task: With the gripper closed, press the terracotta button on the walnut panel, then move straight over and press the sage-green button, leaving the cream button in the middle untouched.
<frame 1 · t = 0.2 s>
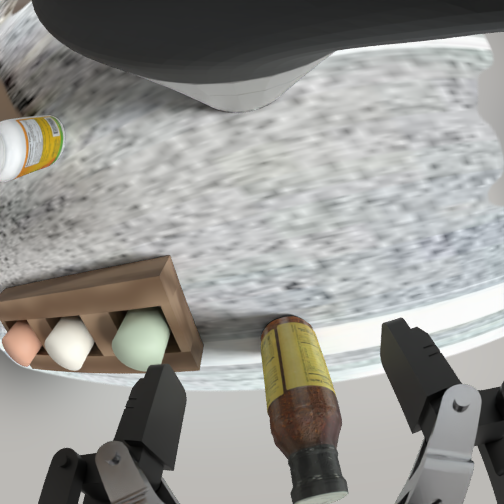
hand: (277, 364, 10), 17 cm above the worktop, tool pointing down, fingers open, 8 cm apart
panel: (86, 317, 31), on the worktop
button sage: (142, 337, 26), point 5 cm above the worktop, slide at 0.0 cm
button terracotta: (23, 341, 27), point 5 cm above the worktop, slide at 0.0 cm
supplement bottle: (48, 140, 22), on the worktop
sauce bottle: (288, 332, 32), on the worktop
button cream: (71, 340, 26), point 5 cm above the worktop, slide at 0.0 cm
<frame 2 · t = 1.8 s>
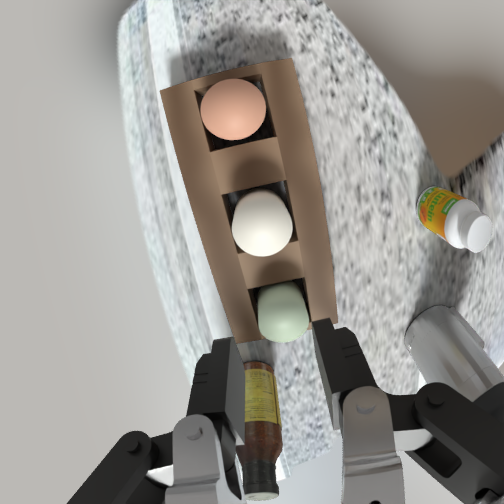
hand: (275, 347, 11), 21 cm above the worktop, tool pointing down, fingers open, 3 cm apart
panel: (259, 207, 30), on the worktop
button sage: (281, 309, 30), point 5 cm above the worktop, slide at 0.0 cm
button terracotta: (234, 111, 22), point 5 cm above the worktop, slide at 0.0 cm
supplement bottle: (431, 206, 30), on the worktop
sauce bottle: (255, 372, 40), on the worktop
button cream: (261, 220, 26), point 5 cm above the worktop, slide at 0.0 cm
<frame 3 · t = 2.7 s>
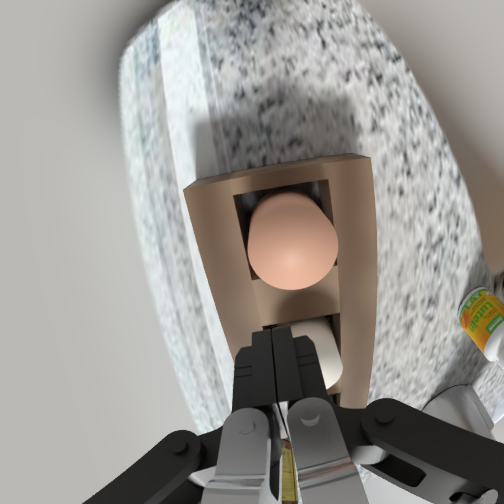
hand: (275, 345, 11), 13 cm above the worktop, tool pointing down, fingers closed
panel: (299, 319, 26), on the worktop
button sage: (312, 418, 25), point 5 cm above the worktop, slide at 0.0 cm
button terracotta: (289, 235, 18), point 5 cm above the worktop, slide at 0.0 cm
supplement bottle: (472, 304, 25), on the worktop
sauce bottle: (273, 444, 36), on the worktop
button cream: (305, 353, 22), point 5 cm above the worktop, slide at 0.0 cm
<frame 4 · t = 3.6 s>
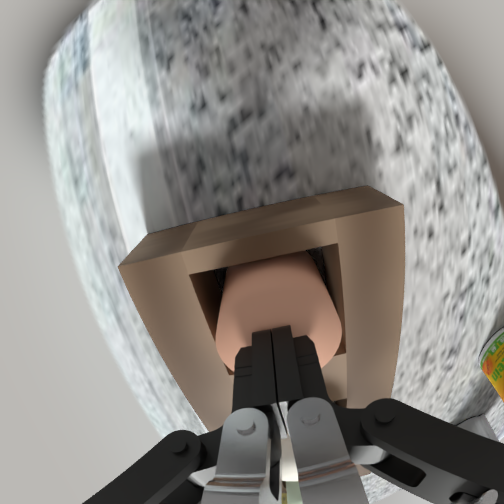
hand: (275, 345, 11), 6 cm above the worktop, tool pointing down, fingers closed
panel: (296, 388, 20), on the worktop
button sage: (312, 481, 19), point 5 cm above the worktop, slide at 0.0 cm
button terracotta: (275, 308, 13), point 3 cm above the worktop, slide at 1.5 cm
supplement bottle: (494, 344, 20), on the worktop
button cream: (303, 438, 15), point 5 cm above the worktop, slide at 0.0 cm
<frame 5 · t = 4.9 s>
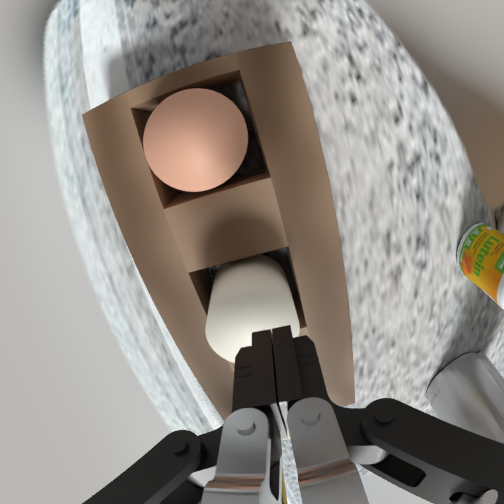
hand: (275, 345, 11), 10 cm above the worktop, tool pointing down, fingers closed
panel: (249, 272, 21), on the worktop
button sage: (284, 401, 21), point 5 cm above the worktop, slide at 0.0 cm
button terracotta: (201, 138, 15), point 3 cm above the worktop, slide at 1.6 cm
supplement bottle: (472, 247, 21), on the worktop
button cream: (251, 307, 17), point 5 cm above the worktop, slide at 0.0 cm
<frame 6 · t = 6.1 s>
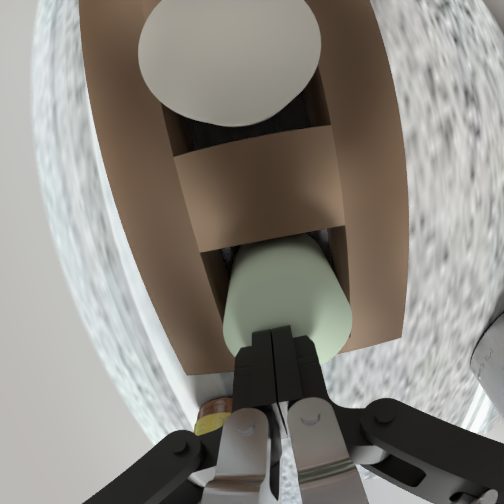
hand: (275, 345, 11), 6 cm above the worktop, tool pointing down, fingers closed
panel: (240, 81, 12), on the worktop
button sage: (283, 298, 13), point 4 cm above the worktop, slide at 0.8 cm, touching gripper
sauce bottle: (234, 412, 22), on the worktop
button cream: (233, 59, 8), point 5 cm above the worktop, slide at 0.0 cm
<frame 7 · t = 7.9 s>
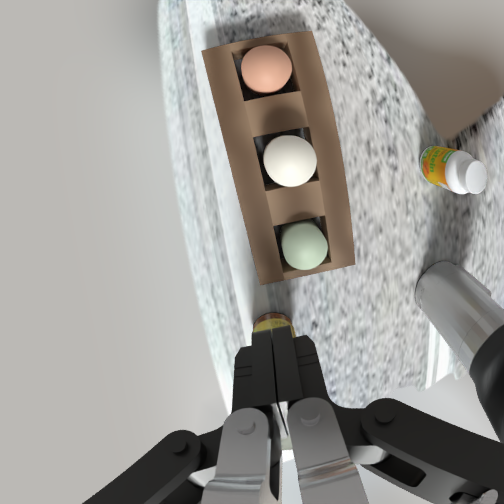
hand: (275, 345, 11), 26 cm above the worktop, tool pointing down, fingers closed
panel: (283, 156, 33), on the worktop
button sage: (302, 241, 34), point 3 cm above the worktop, slide at 1.6 cm
button terracotta: (265, 71, 26), point 3 cm above the worktop, slide at 1.6 cm
supplement bottle: (432, 164, 32), on the worktop
sauce bottle: (273, 326, 43), on the worktop
button cream: (287, 159, 28), point 5 cm above the worktop, slide at 0.0 cm
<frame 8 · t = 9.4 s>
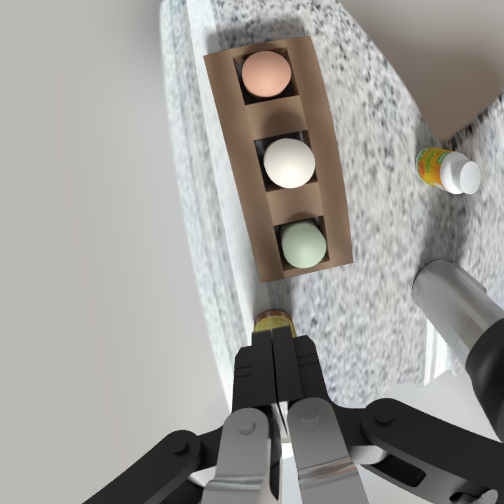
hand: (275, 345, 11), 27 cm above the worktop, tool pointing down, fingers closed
panel: (282, 158, 34), on the worktop
button sage: (301, 241, 35), point 3 cm above the worktop, slide at 1.6 cm
button terracotta: (265, 76, 27), point 3 cm above the worktop, slide at 1.6 cm
supplement bottle: (428, 164, 34), on the worktop
sauce bottle: (273, 324, 44), on the worktop
button cream: (287, 161, 29), point 5 cm above the worktop, slide at 0.0 cm
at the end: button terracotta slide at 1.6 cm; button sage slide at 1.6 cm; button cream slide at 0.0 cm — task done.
